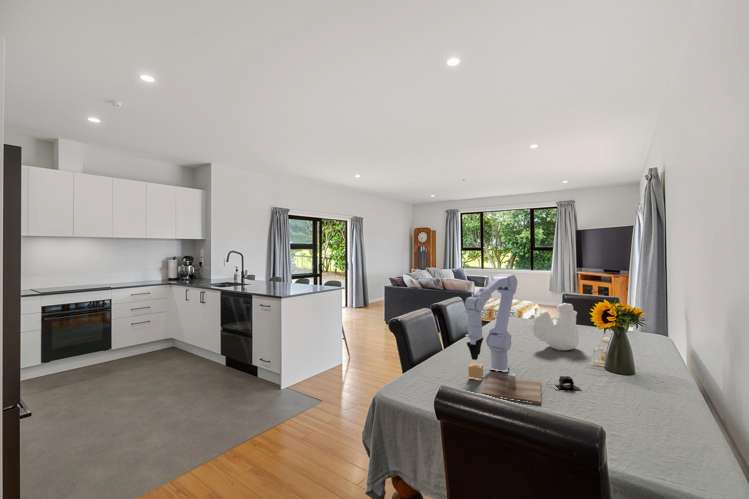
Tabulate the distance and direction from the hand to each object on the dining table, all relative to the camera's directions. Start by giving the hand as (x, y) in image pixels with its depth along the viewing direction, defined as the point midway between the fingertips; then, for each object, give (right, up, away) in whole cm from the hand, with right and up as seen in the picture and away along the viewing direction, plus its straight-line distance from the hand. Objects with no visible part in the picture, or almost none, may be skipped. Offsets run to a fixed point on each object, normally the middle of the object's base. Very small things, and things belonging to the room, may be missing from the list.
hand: (475, 356), depth 143 cm
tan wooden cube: (0, -9, 0) cm, 9 cm away
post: (+11, -8, -12) cm, 18 cm away
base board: (+11, -9, -12) cm, 19 cm away
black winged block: (+32, -9, -12) cm, 35 cm away
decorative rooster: (+55, -8, +39) cm, 68 cm away
